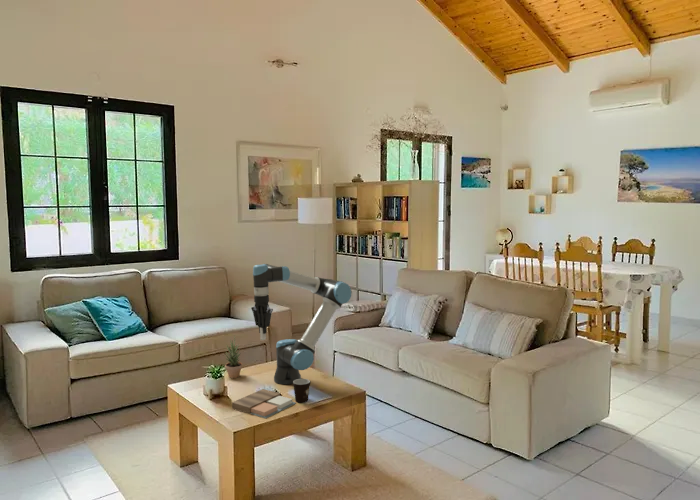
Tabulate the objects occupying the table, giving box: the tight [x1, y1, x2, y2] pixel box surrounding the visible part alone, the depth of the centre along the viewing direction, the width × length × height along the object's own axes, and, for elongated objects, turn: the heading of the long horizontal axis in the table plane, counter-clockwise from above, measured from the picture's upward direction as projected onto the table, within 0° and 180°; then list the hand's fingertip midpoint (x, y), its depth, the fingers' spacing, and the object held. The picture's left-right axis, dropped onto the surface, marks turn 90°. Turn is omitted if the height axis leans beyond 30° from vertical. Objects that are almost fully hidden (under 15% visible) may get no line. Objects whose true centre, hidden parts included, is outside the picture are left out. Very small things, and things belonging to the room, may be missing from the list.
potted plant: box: [224, 334, 243, 379], centre depth 313 cm, size 10×10×25 cm
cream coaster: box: [267, 395, 293, 409], centre depth 271 cm, size 9×9×2 cm
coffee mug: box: [293, 378, 311, 404], centre depth 277 cm, size 12×9×10 cm
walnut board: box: [231, 388, 281, 414], centre depth 273 cm, size 22×12×3 cm, turn 146°
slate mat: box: [250, 401, 297, 419], centre depth 267 cm, size 22×10×1 cm, turn 146°
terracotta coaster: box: [251, 402, 278, 416], centre depth 263 cm, size 9×9×2 cm
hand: (263, 339), depth 282 cm, fingers closed
